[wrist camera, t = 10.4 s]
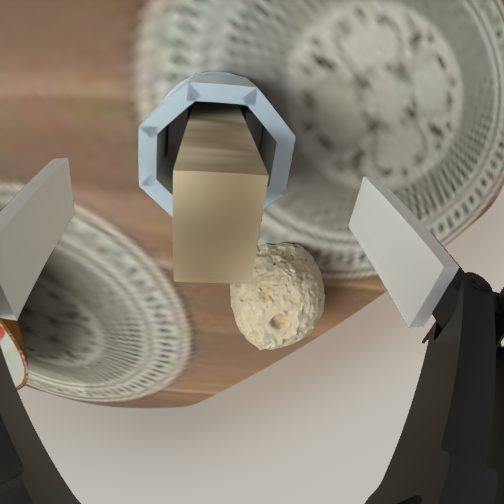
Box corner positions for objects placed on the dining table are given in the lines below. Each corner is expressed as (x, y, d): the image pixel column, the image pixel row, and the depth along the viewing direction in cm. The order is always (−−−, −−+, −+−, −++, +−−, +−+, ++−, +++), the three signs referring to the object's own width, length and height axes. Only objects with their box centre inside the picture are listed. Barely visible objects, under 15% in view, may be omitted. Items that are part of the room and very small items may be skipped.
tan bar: (191, 157, 23) (173, 281, 12) (194, 100, 21) (173, 170, 10) (230, 159, 24) (251, 283, 13) (237, 102, 21) (268, 175, 10)
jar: (155, 177, 25) (137, 225, 19) (159, 69, 20) (137, 78, 14) (263, 183, 26) (280, 232, 20) (280, 78, 21) (307, 91, 15)
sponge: (226, 240, 34) (191, 328, 30) (291, 215, 27) (256, 328, 22) (286, 281, 38) (262, 361, 34) (353, 268, 31) (332, 366, 26)
